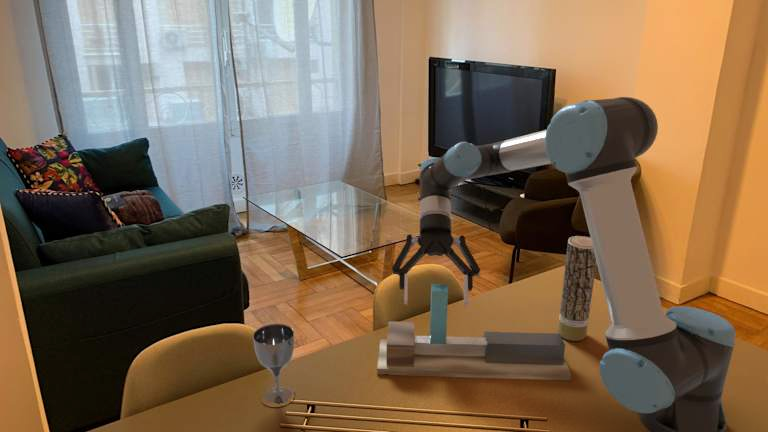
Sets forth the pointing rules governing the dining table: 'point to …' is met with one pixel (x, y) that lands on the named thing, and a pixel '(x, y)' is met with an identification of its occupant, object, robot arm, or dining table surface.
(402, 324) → the walnut socket
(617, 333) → the robot arm
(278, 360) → the wine glass
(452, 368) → the birch board
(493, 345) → the steel sleeve
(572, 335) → the bark log
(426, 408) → the dining table surface
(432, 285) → the sliding bolt
